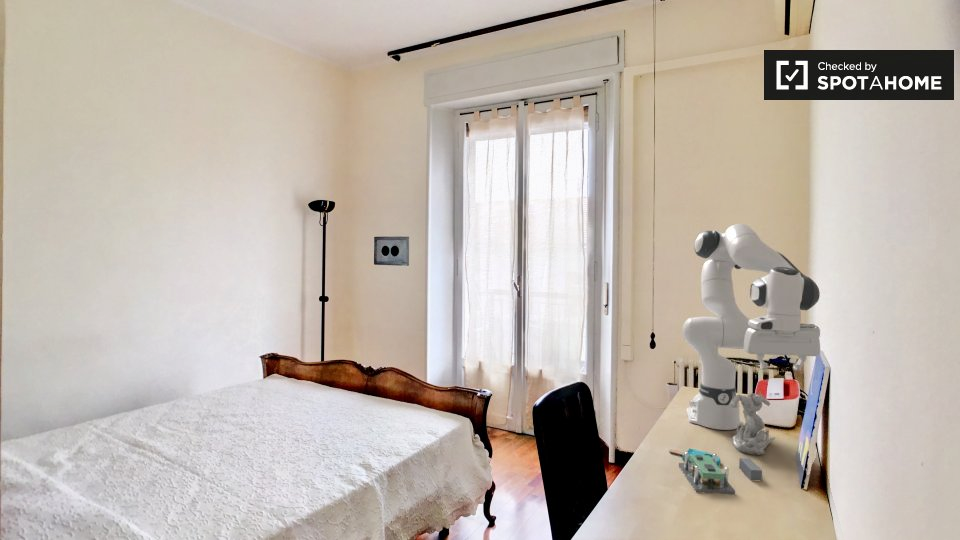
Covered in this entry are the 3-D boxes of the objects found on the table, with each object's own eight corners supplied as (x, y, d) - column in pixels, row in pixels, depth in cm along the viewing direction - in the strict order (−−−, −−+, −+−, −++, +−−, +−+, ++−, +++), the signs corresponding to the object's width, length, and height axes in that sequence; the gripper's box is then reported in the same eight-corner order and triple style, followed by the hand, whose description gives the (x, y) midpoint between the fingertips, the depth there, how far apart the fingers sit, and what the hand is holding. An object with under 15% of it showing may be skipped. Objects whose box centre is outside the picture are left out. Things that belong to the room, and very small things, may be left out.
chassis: (678, 466, 155) (679, 447, 154) (713, 467, 154) (714, 449, 154) (695, 492, 139) (696, 471, 139) (735, 494, 138) (736, 474, 138)
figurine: (773, 461, 159) (776, 403, 158) (727, 452, 166) (730, 396, 165) (775, 442, 174) (778, 389, 173) (732, 434, 181) (735, 383, 180)
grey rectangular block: (739, 467, 154) (739, 458, 154) (749, 468, 154) (750, 458, 154) (750, 480, 146) (750, 469, 146) (761, 481, 146) (762, 470, 146)
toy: (673, 443, 168) (723, 456, 159) (672, 449, 168) (722, 462, 159) (665, 450, 162) (717, 464, 153) (665, 456, 162) (716, 470, 153)
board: (689, 459, 152) (689, 452, 152) (708, 460, 152) (709, 453, 152) (702, 478, 140) (703, 470, 140) (724, 479, 140) (724, 471, 140)
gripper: (814, 322, 156) (811, 368, 156) (742, 320, 157) (740, 365, 158) (826, 326, 149) (823, 373, 150) (751, 323, 151) (749, 370, 152)
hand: (780, 369), depth 154 cm, fingers open, 8 cm apart
